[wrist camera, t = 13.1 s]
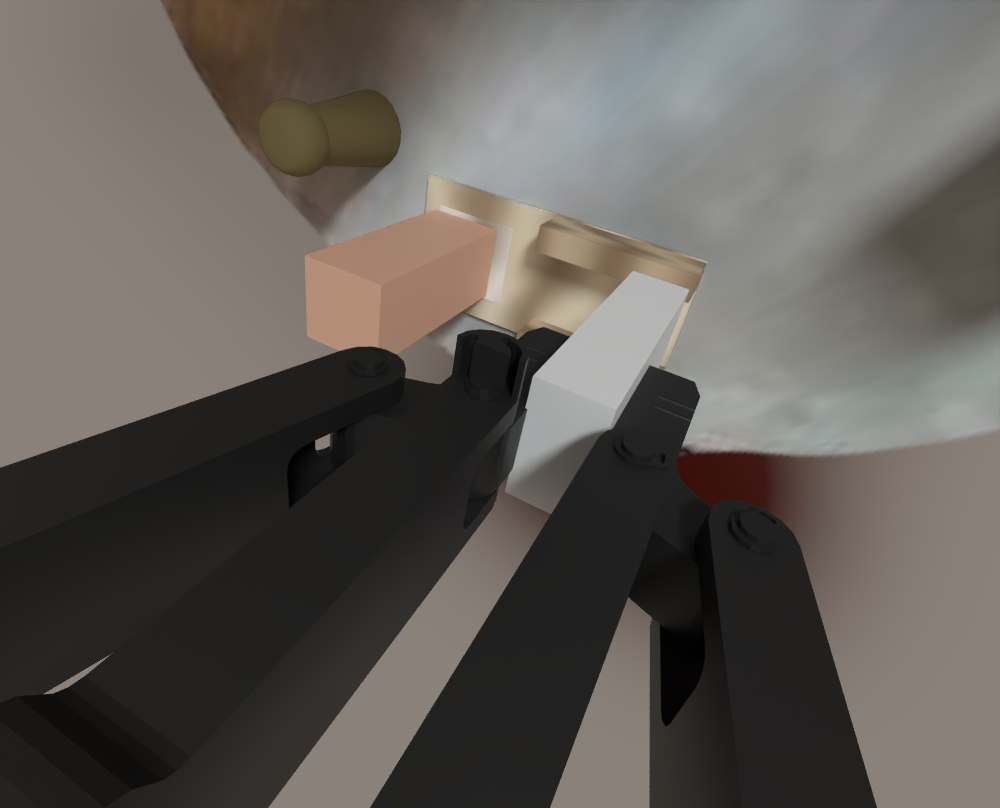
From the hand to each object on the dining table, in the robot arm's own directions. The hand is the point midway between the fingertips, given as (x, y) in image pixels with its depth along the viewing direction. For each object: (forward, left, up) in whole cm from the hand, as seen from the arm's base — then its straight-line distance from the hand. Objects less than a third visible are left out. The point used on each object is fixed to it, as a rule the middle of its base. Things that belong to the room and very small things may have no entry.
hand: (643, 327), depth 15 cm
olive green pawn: (-21, -23, -30) cm, 43 cm away
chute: (-2, -17, -29) cm, 34 cm away
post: (-8, -22, -29) cm, 38 cm away
